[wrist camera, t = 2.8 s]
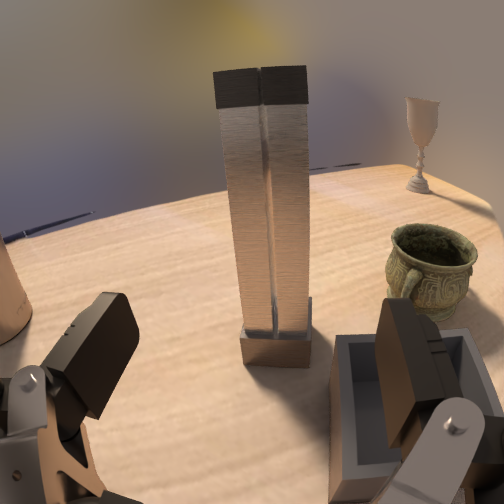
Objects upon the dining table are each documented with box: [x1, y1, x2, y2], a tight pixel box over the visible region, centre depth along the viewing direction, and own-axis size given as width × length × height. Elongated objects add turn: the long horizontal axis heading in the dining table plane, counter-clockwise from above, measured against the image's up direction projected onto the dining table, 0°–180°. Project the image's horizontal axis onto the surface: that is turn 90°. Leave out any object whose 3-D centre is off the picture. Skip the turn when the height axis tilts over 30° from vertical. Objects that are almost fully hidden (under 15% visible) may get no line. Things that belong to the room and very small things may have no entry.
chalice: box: [405, 97, 440, 193], centre depth 51 cm, size 7×7×18 cm
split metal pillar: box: [213, 65, 312, 368], centre depth 20 cm, size 5×5×20 cm
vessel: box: [385, 223, 478, 322], centre depth 26 cm, size 12×9×6 cm
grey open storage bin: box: [328, 328, 504, 504], centre depth 15 cm, size 9×9×5 cm
